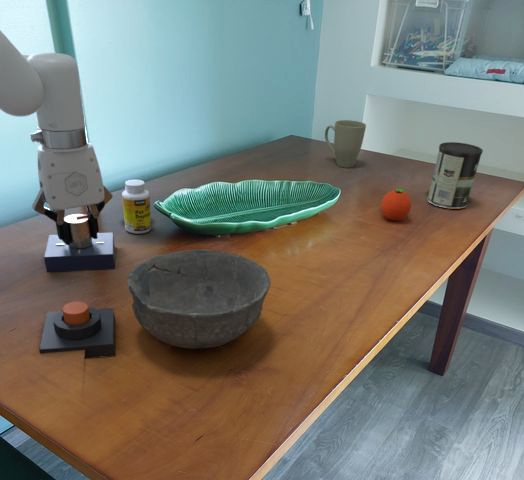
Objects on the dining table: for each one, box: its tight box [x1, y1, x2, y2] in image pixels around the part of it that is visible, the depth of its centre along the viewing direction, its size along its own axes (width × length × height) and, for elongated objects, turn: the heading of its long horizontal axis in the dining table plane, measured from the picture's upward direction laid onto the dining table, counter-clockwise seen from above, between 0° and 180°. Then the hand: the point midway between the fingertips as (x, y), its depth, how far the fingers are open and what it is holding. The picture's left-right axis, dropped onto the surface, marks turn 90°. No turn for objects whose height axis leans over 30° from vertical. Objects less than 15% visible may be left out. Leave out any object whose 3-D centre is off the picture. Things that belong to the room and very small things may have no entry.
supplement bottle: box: [121, 179, 152, 235], centre depth 112 cm, size 6×6×10 cm
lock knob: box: [64, 213, 92, 249], centre depth 99 cm, size 4×4×5 cm
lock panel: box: [43, 232, 116, 273], centre depth 101 cm, size 12×10×3 cm
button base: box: [38, 306, 116, 359], centre depth 79 cm, size 10×10×4 cm
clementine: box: [380, 188, 412, 221], centre depth 126 cm, size 8×7×7 cm
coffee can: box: [426, 141, 484, 208], centre depth 135 cm, size 10×10×14 cm
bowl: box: [127, 249, 272, 349], centre depth 81 cm, size 21×21×10 cm
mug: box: [324, 119, 367, 169], centre depth 159 cm, size 11×10×12 cm
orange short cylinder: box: [61, 301, 90, 325], centre depth 78 cm, size 4×4×2 cm
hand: (79, 238), depth 100 cm, fingers closed on lock knob, 4 cm apart
